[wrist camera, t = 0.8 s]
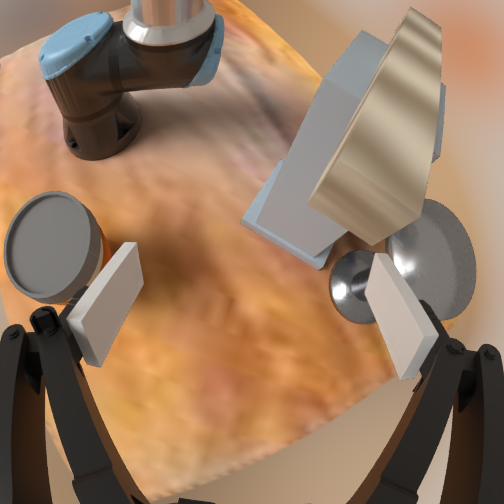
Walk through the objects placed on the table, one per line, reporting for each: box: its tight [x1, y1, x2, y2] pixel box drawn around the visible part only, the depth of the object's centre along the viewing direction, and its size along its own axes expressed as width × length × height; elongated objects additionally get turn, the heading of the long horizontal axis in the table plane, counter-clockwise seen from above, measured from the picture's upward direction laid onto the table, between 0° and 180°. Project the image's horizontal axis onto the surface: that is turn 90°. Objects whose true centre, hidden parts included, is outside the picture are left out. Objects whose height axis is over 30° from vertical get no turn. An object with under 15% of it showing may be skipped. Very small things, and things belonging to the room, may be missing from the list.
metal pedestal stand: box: [329, 199, 476, 324], centre depth 37 cm, size 14×14×19 cm
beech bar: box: [307, 7, 442, 246], centre depth 17 cm, size 28×4×4 cm, turn 150°
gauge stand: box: [240, 30, 446, 270], centre depth 34 cm, size 13×14×30 cm
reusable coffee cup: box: [4, 191, 112, 305], centre depth 33 cm, size 13×13×15 cm
